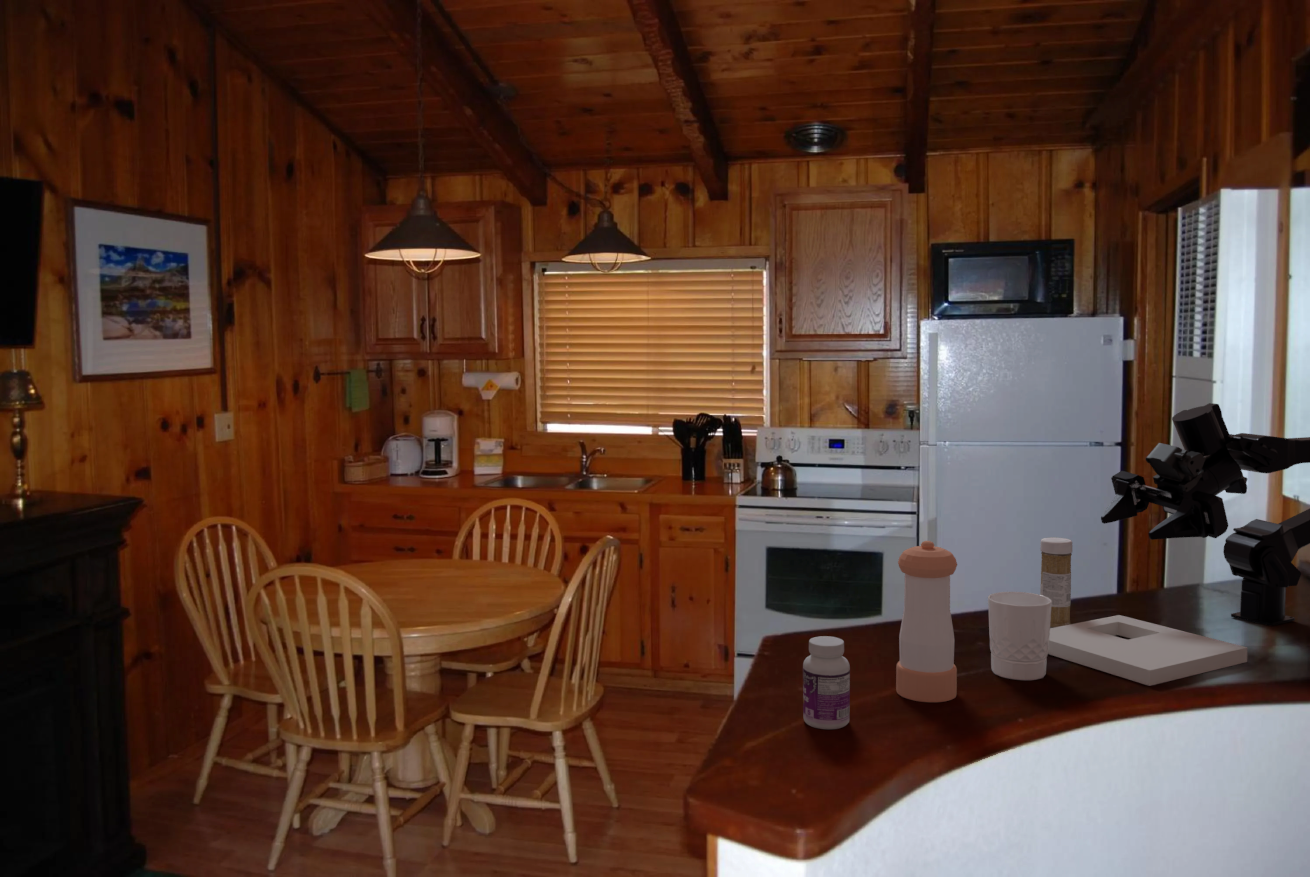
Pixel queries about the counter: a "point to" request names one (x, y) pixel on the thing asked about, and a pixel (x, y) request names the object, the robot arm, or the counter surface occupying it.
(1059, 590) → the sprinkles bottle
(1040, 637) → the white cup
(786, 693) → the counter surface
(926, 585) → the pepper shaker
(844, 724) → the pill bottle
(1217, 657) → the block
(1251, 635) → the counter surface
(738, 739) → the counter surface
